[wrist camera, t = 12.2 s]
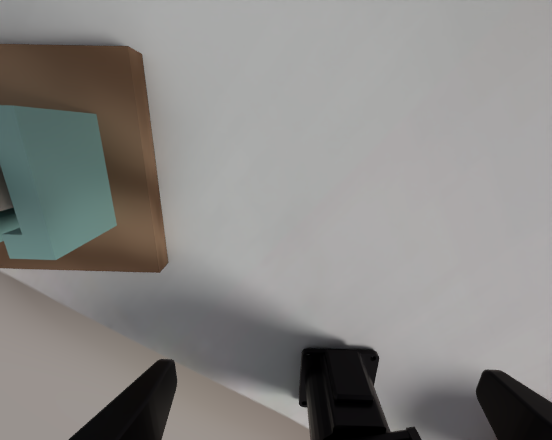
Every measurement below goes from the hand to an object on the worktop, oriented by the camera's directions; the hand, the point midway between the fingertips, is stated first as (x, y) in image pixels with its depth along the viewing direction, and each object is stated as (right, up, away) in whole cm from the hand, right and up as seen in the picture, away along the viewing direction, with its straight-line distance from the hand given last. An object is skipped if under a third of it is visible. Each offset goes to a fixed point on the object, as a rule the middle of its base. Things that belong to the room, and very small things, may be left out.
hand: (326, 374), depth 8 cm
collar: (-16, +8, +9) cm, 19 cm away
